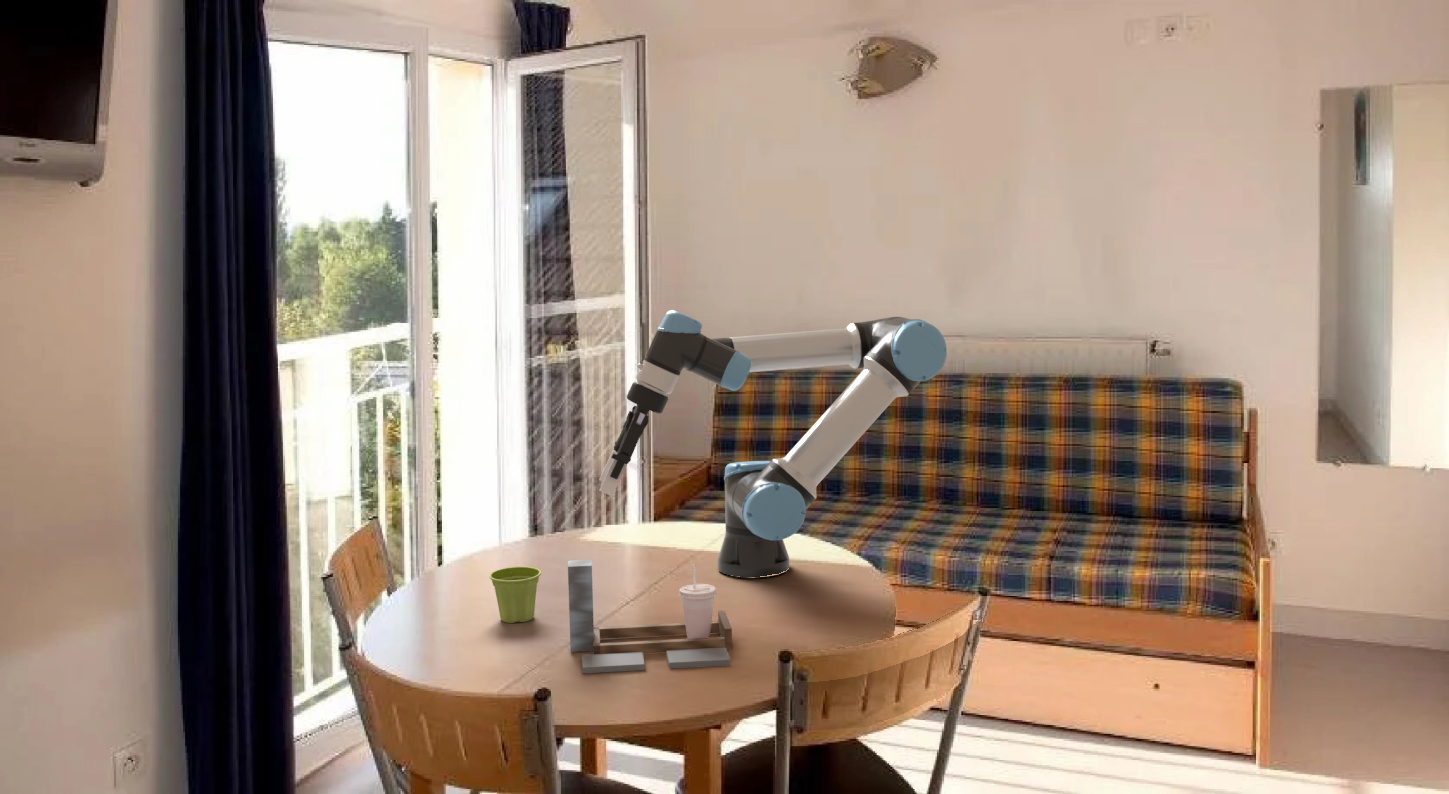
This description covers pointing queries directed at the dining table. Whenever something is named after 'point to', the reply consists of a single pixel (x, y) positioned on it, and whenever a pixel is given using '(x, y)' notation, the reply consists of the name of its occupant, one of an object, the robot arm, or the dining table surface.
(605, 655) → the broken strip
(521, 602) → the plant pot
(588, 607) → the sled
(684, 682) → the dining table surface
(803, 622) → the dining table surface
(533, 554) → the dining table surface
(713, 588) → the smoothie
